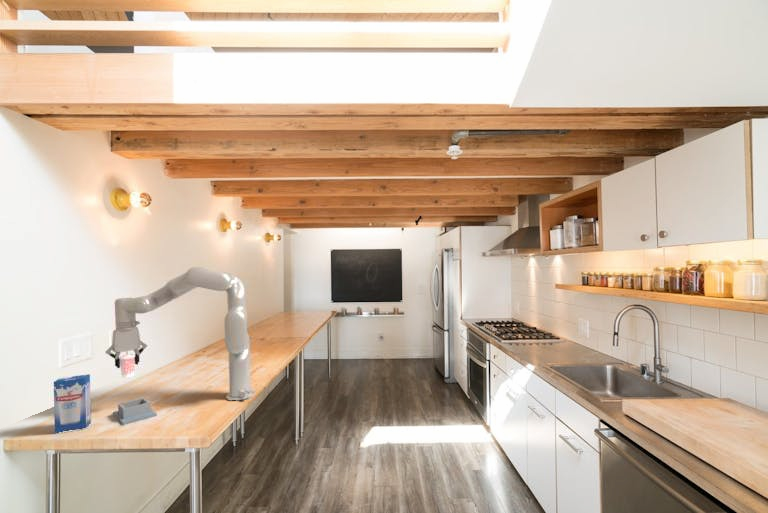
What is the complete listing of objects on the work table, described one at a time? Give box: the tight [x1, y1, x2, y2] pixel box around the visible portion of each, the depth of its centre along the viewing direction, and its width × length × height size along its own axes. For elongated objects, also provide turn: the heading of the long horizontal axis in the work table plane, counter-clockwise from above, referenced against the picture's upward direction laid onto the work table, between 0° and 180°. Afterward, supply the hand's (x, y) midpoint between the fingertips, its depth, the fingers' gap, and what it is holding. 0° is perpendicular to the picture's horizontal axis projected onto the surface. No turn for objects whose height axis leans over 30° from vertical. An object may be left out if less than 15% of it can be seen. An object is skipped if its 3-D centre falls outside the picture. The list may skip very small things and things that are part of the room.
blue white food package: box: [53, 374, 92, 434], centre depth 150 cm, size 10×6×20 cm, turn 114°
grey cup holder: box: [112, 397, 157, 426], centre depth 162 cm, size 18×12×5 cm, turn 46°
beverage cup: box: [119, 351, 136, 378], centre depth 168 cm, size 6×6×14 cm
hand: (127, 365), depth 168 cm, fingers closed on beverage cup, 6 cm apart
